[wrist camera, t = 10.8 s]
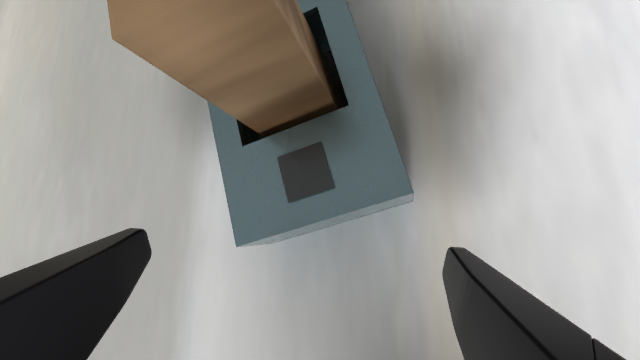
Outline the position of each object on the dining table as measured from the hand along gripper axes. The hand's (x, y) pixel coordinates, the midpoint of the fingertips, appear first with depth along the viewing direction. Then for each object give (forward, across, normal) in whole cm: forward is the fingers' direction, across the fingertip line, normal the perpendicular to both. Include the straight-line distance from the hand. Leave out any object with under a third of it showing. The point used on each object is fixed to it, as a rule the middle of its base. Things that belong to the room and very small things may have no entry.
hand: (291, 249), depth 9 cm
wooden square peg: (+13, +1, -2) cm, 13 cm away
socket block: (+13, +1, -2) cm, 13 cm away
